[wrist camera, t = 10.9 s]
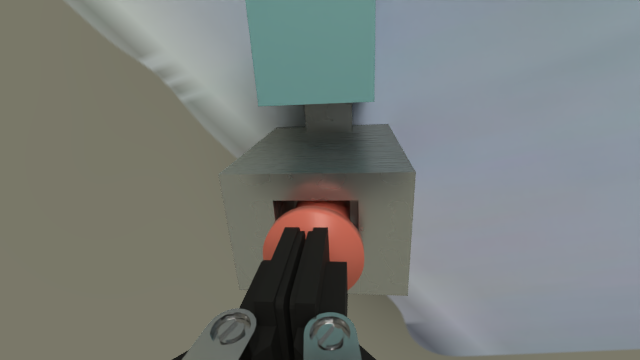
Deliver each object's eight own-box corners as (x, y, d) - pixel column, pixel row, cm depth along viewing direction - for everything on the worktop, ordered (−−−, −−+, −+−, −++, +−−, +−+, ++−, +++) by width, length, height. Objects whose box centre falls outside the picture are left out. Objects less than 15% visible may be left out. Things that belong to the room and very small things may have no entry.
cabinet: (388, 124, 21) (415, 172, 11) (386, 202, 23) (407, 295, 14) (276, 127, 22) (218, 174, 12) (284, 202, 24) (239, 289, 15)
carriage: (367, -19, 18) (376, -77, 10) (367, 88, 20) (374, 101, 12) (284, -11, 18) (238, -61, 11) (292, 91, 20) (258, 106, 13)
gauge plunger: (361, 170, 15) (364, 213, 11) (361, 239, 16) (364, 300, 12) (283, 171, 15) (256, 212, 11) (290, 238, 17) (268, 297, 13)
